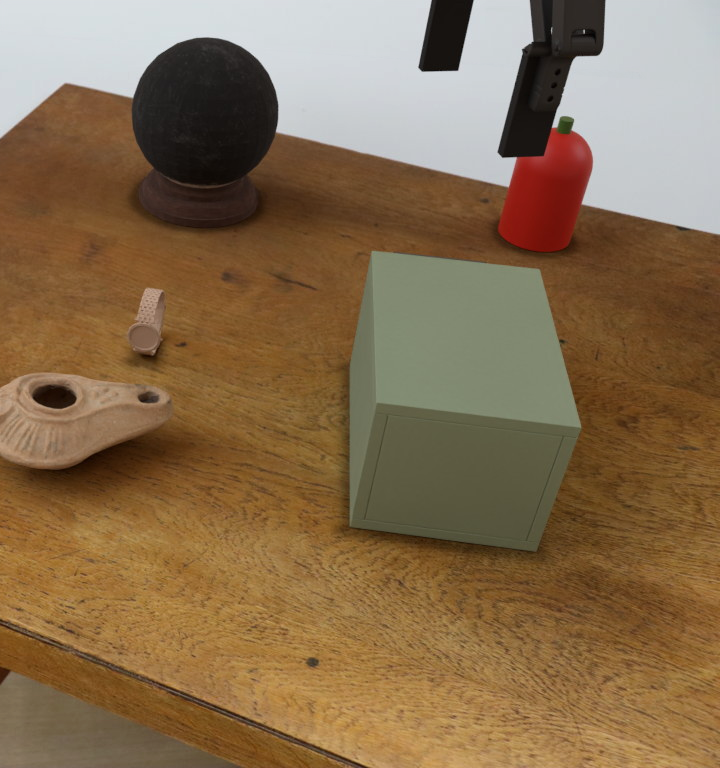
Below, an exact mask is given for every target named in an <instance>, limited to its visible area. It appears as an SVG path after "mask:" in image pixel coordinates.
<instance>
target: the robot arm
mask: <svg viewBox="0 0 720 768" xmlns="http://www.w3.org/2000/svg"><path fill="white" fill-rule="evenodd" d="M474 2H475V0H431V1H430V7H429V12H428V17H427V21H426V26H425V30H424V36H423V41H422V46H421V47H422V48H421V52H420V57H419V62H418V66H417V68H418V70H420V71H421V72H422V73H427V72H429V73H433V72H459V70H460V65H461V60H462V56H463V52H464V48H465V47H464V46H465V43H466V37H467V34H468V33H467V32H468V29H469V25H470V20H471V14H472V11H473V5H474ZM606 2H607V1H606V0H529V9H530V20H531V30H532V31H531V32H532V41H531V42H530V43H529V44H527V45H525V46H524V47H523V48H522V49H521V52H522V53H521V54H522V55H521V58H520V62H519V65H518V70H517V74H516V78H515V83H514V85H513V90H512V93H511V97H510V100H509V105H508V109H507V113H506V117H505V120H504V125H503V128H502V133H501V136H500V141H499V144H498V148H497V154H498V155H499V156H500V157H501V158H502V159H508V158H517V157H539V156H544V154H545V150H546V147H547V143H548V140H549V136H550V133H551V129H552V128H553V127H554V126H553V125H554V123H555V118H556V115H557V111H558V108H559V107H560V106H561V101H562V99H563V94H564V92H565V87H566V85H567V80H568V77H569V73H570V71H571V68H572V64H573V61H574V60H575V59H576V58H577V57H598V56H600V55H601V54H602V52H603V49H604V45H605V44H604V43H605V24H606V23H605V20H606Z"/></svg>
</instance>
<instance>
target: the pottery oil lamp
mask: <svg viewBox="0 0 720 768" xmlns="http://www.w3.org/2000/svg"><path fill="white" fill-rule="evenodd" d="M174 410H175V409H174V405H173V401H172V398H171V395H170V394H169V393H168V392H167V391H165V390H164V389H162V388H159V387H158V386H155V385H151V384H150V385H149V384H141V383H129V382H128V383H127V382H117V381H116V382H114V381H107V380H106V381H105V380H98V379H94V378H88V377H85V376H82V375H78V374H67V373H59V372H32V373H28V374H25V375H22V376H19V377H16V378H14V379H12V380H11V381H10V382H9V383H7V384H4V385H3V386H1V387H0V457H2V459H4V460H6V461H8V462H9V463H12V464H15V465H19V466H22V467H25V468H31V469H38V470H51V471H52V470H53V471H54V470H55V471H56V470H63V469H68V468H71V467H75V466H76V465H77V466H78V464H80V463H82V462H83V461H84V460H86V459H88V458H89V457H90V456H92V455H95V454H96V453H99V452H101V451H104V450H106V449H108V448H111V447H114V446H116V445H119V444H122V443H125V442H128V441H131V440H134V439H137V438H140V437H142V436H145V435H149V434H150V433H152V432H154V431H157V430H159V429H160V428H162V427H163V426H164V425H165V423H167V422H169V421H170V420H171V418H172V417H173V415H174Z"/></svg>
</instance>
